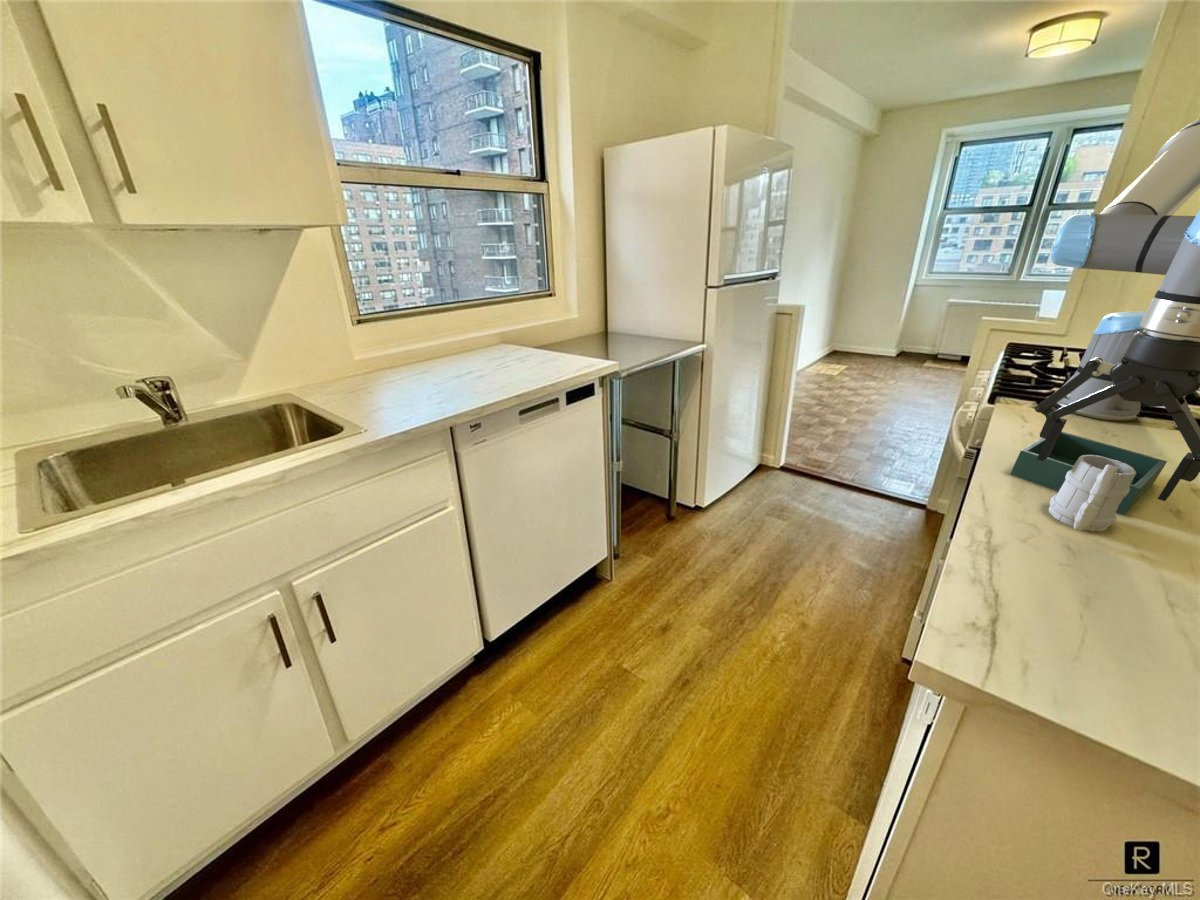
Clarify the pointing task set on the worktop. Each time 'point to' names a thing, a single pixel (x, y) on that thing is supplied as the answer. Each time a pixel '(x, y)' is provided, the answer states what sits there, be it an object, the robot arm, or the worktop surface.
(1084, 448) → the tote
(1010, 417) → the worktop surface
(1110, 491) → the mug
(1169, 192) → the robot arm
